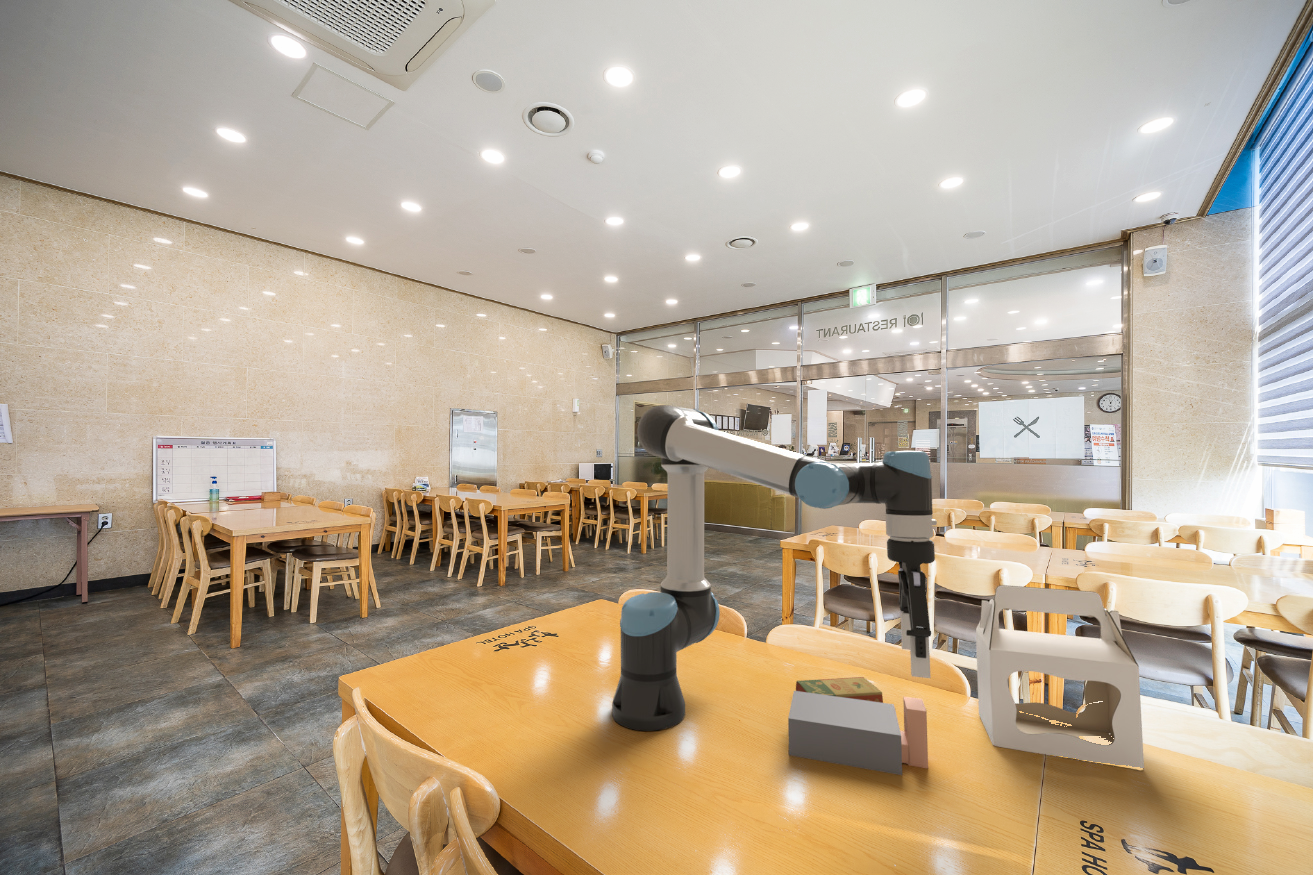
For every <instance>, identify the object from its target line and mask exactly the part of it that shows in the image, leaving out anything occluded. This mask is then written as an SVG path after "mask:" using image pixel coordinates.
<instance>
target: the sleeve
mask: <svg viewBox="0 0 1313 875" xmlns="http://www.w3.org/2000/svg"><path fill="white" fill-rule="evenodd" d="M791 698H792V699H791V703H790V707H789V713H788V719H787V720H788V721H787V722H788V723H787V725H788V730H787V731H788V755H789V756H792V757H796V758H804V759H809V760H814V761H815V760H816V761H818V762H825V763H831V764H837V765H843V766H849V767H853V768H860V769H866V770H872V771H875V772H877V771H878V772H882V773H888V774H893V775H899V776H903V763H902V747H901V733H900V731H901V729H900V725H899V720H898V717H897V712H896V708H895V704H893V703H888V702H887V703H886V702H883V703H880V702H873V701H866V700H858V699H851V698H844V697H836V696H829V695H822V694H814V693H807V692H800V691H796V690H793V694H792V697H791Z"/></svg>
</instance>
